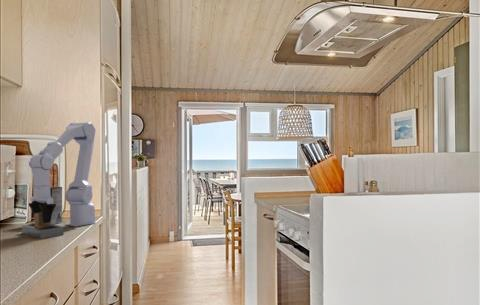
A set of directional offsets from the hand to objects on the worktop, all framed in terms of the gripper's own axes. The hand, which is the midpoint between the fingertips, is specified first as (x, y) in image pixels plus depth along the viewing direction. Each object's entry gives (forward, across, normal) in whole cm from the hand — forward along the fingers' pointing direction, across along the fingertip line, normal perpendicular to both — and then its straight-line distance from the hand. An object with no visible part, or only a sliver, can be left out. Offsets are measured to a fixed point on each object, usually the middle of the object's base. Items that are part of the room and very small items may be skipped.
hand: (42, 221), depth 139 cm
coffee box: (+5, -22, +12) cm, 26 cm away
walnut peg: (+5, 0, 0) cm, 5 cm away
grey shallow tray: (+5, 0, 0) cm, 5 cm away
